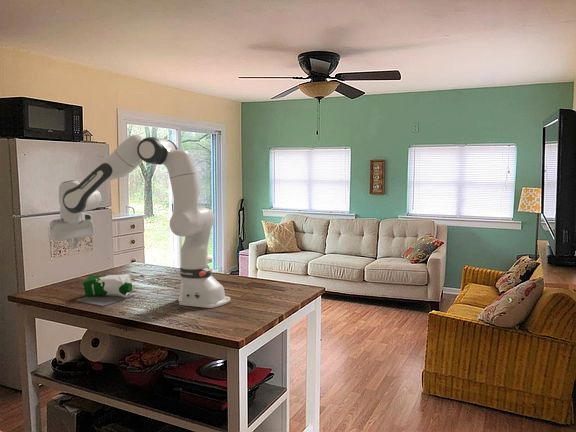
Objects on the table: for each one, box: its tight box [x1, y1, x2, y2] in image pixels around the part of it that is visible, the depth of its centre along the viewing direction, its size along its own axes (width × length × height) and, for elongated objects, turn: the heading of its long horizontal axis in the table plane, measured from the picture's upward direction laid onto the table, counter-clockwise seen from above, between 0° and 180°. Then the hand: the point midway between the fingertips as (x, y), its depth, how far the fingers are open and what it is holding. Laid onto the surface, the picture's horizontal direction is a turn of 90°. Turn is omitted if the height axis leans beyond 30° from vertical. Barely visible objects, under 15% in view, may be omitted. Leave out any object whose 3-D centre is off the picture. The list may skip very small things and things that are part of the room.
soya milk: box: [82, 273, 133, 297], centre depth 208 cm, size 9×9×20 cm
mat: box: [75, 294, 134, 307], centre depth 205 cm, size 17×16×1 cm
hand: (73, 248), depth 212 cm, fingers closed
